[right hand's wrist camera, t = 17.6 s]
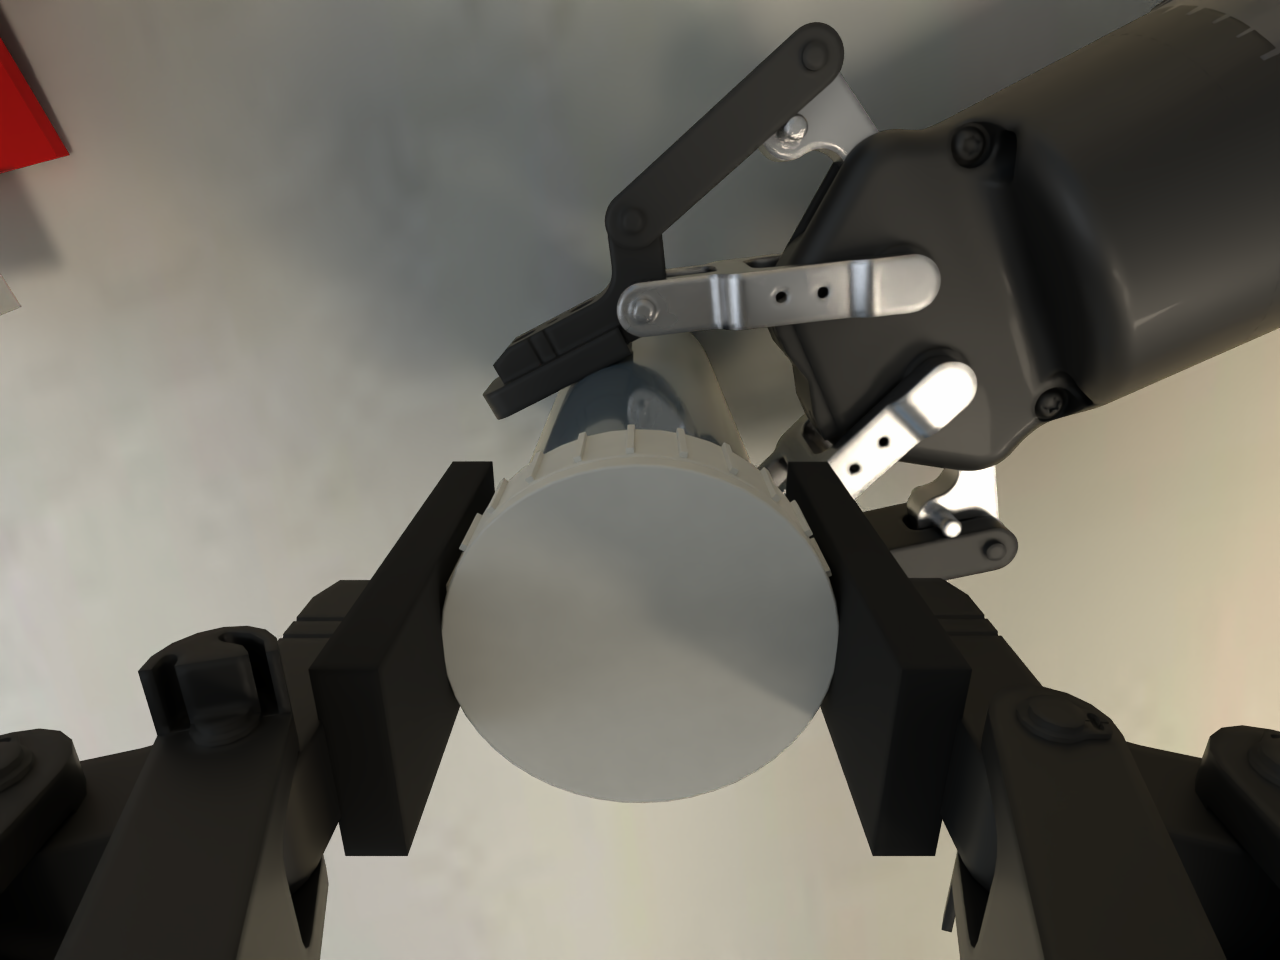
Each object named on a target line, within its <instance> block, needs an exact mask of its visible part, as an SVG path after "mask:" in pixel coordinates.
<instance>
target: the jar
mask: <svg viewBox="0 0 1280 960" xmlns="http://www.w3.org/2000/svg"><path fill="white" fill-rule="evenodd" d="M631 424H634V425H635V429H644V430H663V431H669V432H675V433H676V431H677V428H682V429H684V432H685V434H686V435H690V436H693V437H696V438H700V439H703V440H706V441H709V442H712V443H714V444H716V445H718V446H722V445H723V443H724V442H725V443H727V444H729V445H730V447H731V450H732V452H733V453H735V454H736V455H738V456H740V457H741V458H743V459H745V460H746V461H748V462H749V463H751V461H750V459H749V456H748V454H747V452H746V449H745V447H744V444H743V442H742V439H741V437H740V434H739V432H738V430H737V427H736V425H735V422H734V420H733V417H732V415H731V412H730V410H729V408H728V405H727V403H726V400H725V398H724V395H723V393H722V391H721V388H720V386H719V383H718V381H717V378H716V376H715V373H714V371H713V369H712V366H711V364H710V361H709V359H708V357H707V354H706V352H705V350H704V349H703V347H702V346H701V344H700V343H699V341H698V340H697V339H696V338H695V336H694V335H693V334H691V333H690V332H685V333H676V334H667V335H659V336H650V337H641V338H639V339H637V340H635V341H633V342H632V354H631V355H629V356H627V357H625V358H623V359H621V360H619V361H617V362H615V363H613V364H611V365H609V366H607V367H605V368H603V369H601V370H599V371H597V372H595V373H592V374H590V375H588V376H587V377H585V378H584V379H582V380H580V381H578V382H576V383H574V384H572V385H570V386H568V387H566V388H564V389H562V390H560V391H559V392H558V395H557V397H556V399H555V402H554V404H553V407H552V409H551V412H550V414H549V416H548V419H547V421H546V424H545V426H544V429H543V431H542V433H541V436H540V438H539V441H538V443H537V446H536V448H535V450H534V453H533V455H532V458H531V460H530V463H531V462H532V461H533V458H534V456H535V453H537V452H539V451H540V450H541V451H542V452H543V454H546V453H547V452H549V451H551V450H553V449H555V448H557V447H559V446H561V445H563V444H566V443H569V442H572V441H575V440H578V436H579V433H583V432H586V434H587V436H591V435H596V434H600V433H605V432H610V431H620V430H627V425H631ZM530 463H529V464H530Z"/></svg>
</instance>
